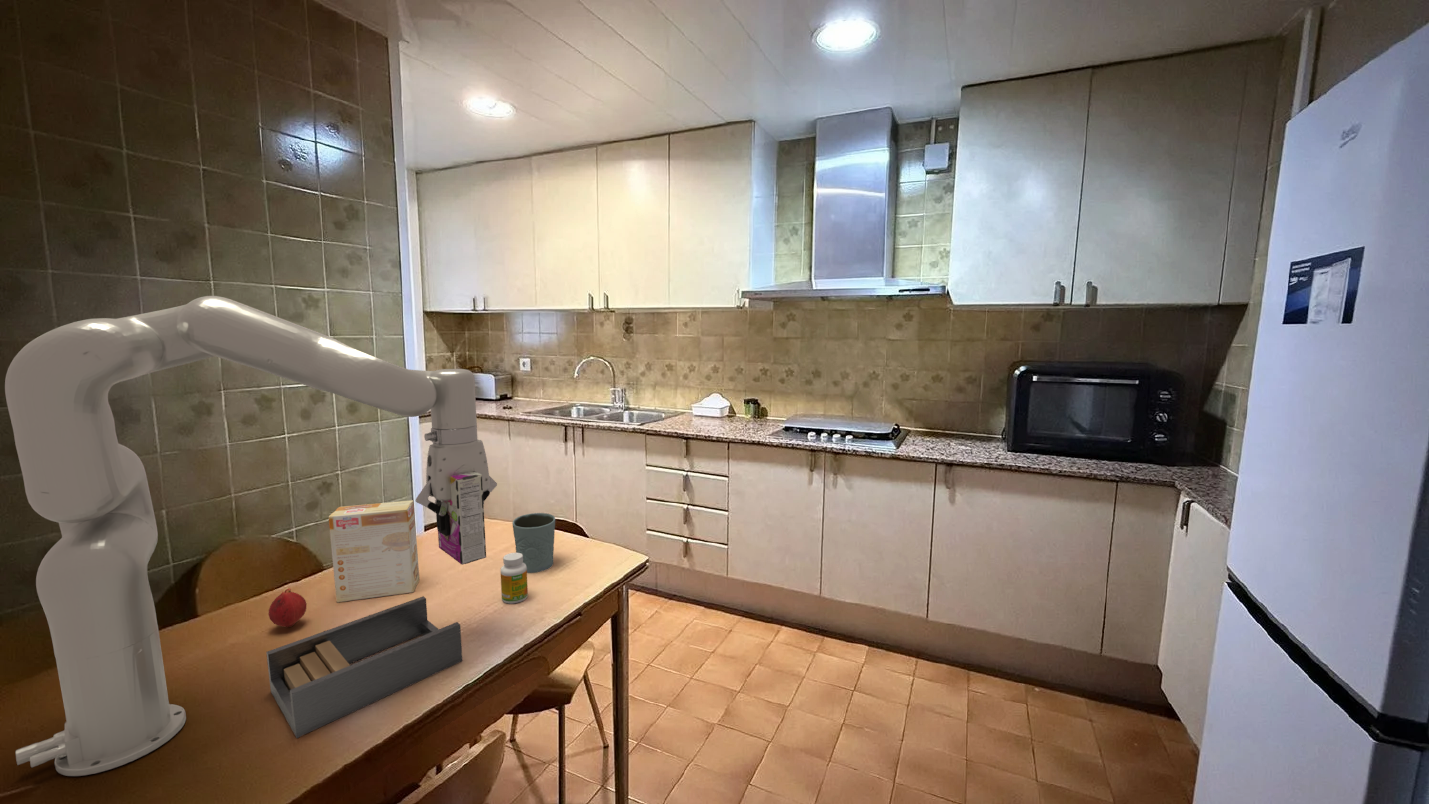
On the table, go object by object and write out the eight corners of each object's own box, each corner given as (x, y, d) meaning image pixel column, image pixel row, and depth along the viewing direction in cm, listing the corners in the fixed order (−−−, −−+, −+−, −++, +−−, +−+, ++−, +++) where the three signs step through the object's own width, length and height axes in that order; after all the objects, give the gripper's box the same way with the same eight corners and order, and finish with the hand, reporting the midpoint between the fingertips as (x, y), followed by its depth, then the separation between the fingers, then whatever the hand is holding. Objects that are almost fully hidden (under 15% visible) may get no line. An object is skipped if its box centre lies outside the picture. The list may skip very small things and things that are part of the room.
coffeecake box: (420, 579, 127) (414, 499, 124) (413, 593, 120) (407, 509, 118) (346, 588, 122) (338, 505, 120) (335, 603, 116) (327, 516, 113)
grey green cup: (540, 554, 142) (538, 510, 140) (565, 564, 136) (564, 518, 134) (505, 567, 133) (503, 521, 132) (531, 578, 128) (528, 530, 126)
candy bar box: (436, 549, 105) (431, 466, 103) (462, 541, 109) (458, 462, 107) (460, 566, 98) (455, 478, 95) (487, 558, 101) (483, 473, 99)
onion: (287, 636, 103) (283, 597, 102) (262, 633, 104) (258, 594, 103) (315, 620, 109) (311, 583, 108) (291, 617, 110) (287, 580, 109)
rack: (296, 738, 78) (291, 693, 77) (270, 691, 88) (266, 651, 87) (462, 660, 96) (460, 624, 95) (425, 629, 106) (423, 596, 105)
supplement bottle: (512, 606, 115) (510, 563, 114) (496, 600, 118) (494, 557, 116) (533, 596, 119) (531, 554, 118) (517, 590, 122) (515, 549, 121)
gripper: (414, 446, 91) (421, 548, 94) (508, 432, 104) (512, 522, 107) (397, 439, 96) (404, 537, 98) (489, 427, 109) (493, 513, 111)
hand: (460, 528), depth 103 cm, fingers closed on candy bar box, 5 cm apart
